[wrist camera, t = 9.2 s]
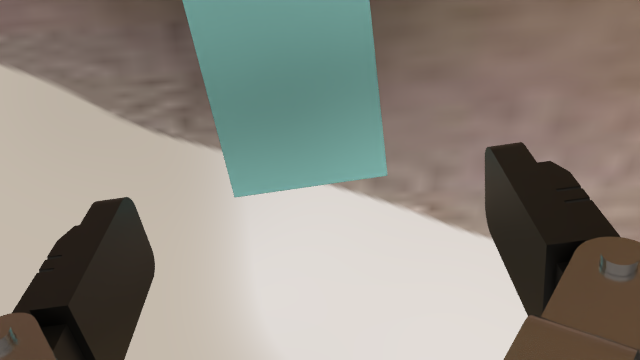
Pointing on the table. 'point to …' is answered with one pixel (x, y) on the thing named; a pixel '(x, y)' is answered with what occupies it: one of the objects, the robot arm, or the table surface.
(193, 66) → the table surface
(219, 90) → the teal block
